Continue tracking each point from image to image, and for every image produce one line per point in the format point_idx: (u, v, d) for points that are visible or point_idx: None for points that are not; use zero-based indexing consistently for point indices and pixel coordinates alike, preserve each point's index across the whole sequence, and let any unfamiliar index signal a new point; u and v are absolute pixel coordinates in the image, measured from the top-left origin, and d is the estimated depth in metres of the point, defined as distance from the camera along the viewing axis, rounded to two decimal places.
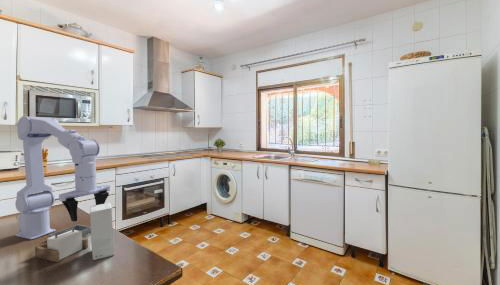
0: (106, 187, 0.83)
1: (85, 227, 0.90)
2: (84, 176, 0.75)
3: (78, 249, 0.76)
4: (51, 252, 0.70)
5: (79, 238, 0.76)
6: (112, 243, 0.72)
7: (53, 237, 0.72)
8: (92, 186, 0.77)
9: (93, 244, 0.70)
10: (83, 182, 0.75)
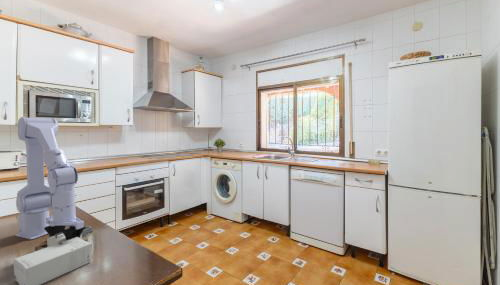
0: (74, 224, 0.71)
1: (85, 227, 0.90)
2: (59, 206, 0.71)
3: None
4: None
5: None
6: (77, 250, 0.66)
7: (53, 237, 0.72)
8: (55, 218, 0.71)
9: (73, 268, 0.65)
10: None
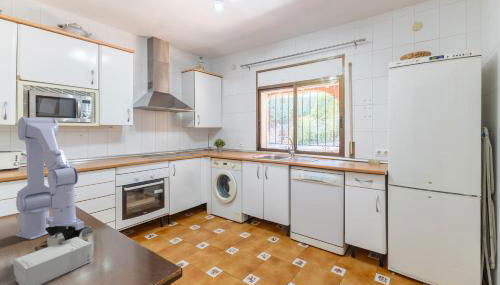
0: (74, 224, 0.71)
1: (85, 227, 0.90)
2: (59, 207, 0.71)
3: None
4: None
5: (79, 237, 0.76)
6: (77, 250, 0.66)
7: (53, 236, 0.72)
8: (55, 218, 0.71)
9: (73, 268, 0.65)
10: (52, 212, 0.72)
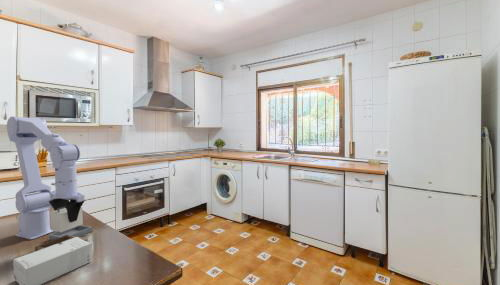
0: (75, 197, 0.77)
1: (85, 227, 0.90)
2: (63, 180, 0.77)
3: (79, 223, 0.81)
4: None
5: (79, 213, 0.81)
6: (77, 250, 0.66)
7: (55, 211, 0.78)
8: (58, 191, 0.77)
9: (73, 268, 0.65)
10: (55, 185, 0.78)
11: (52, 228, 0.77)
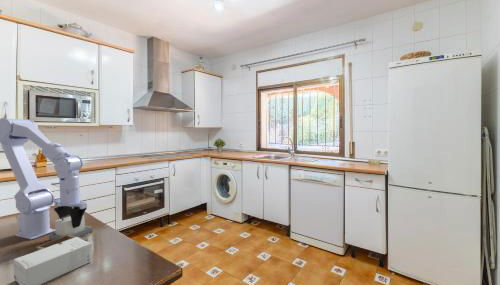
0: (78, 204, 0.83)
1: (85, 227, 0.90)
2: (70, 189, 0.84)
3: None
4: None
5: (82, 221, 0.88)
6: (77, 250, 0.66)
7: (60, 220, 0.84)
8: (62, 199, 0.83)
9: (73, 268, 0.65)
10: (60, 194, 0.84)
11: (57, 235, 0.84)
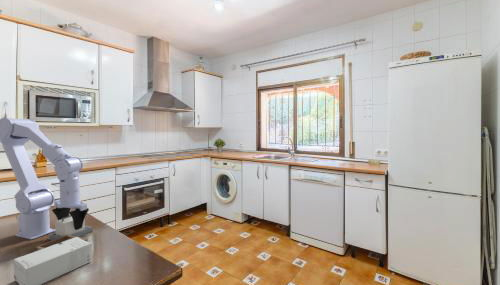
0: (78, 206, 0.83)
1: (85, 227, 0.90)
2: (70, 191, 0.84)
3: None
4: None
5: None
6: (77, 250, 0.66)
7: (60, 220, 0.84)
8: (62, 201, 0.83)
9: (73, 268, 0.65)
10: (60, 195, 0.84)
11: None
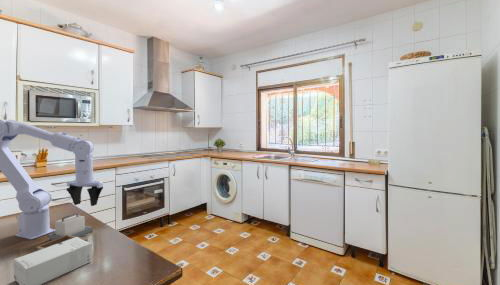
0: (95, 184, 0.91)
1: (85, 227, 0.90)
2: (89, 170, 0.92)
3: None
4: None
5: (82, 222, 0.88)
6: (77, 250, 0.66)
7: (60, 220, 0.84)
8: (79, 179, 0.90)
9: (73, 268, 0.65)
10: None
11: None
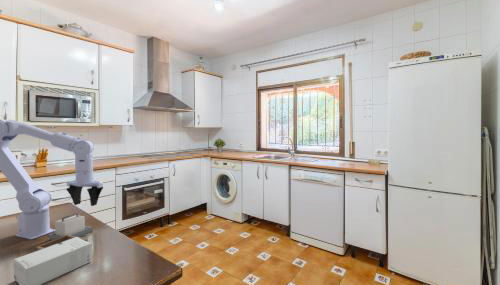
0: (95, 184, 0.91)
1: (85, 227, 0.90)
2: (89, 170, 0.92)
3: None
4: None
5: (82, 222, 0.88)
6: (77, 250, 0.66)
7: (60, 220, 0.84)
8: (79, 179, 0.90)
9: (73, 268, 0.65)
10: None
11: None
